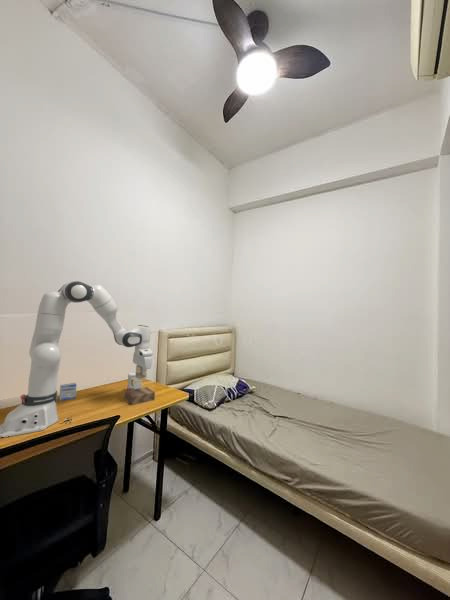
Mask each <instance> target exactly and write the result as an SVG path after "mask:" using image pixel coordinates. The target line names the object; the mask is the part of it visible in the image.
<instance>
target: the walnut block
mask: <svg viewBox="0 0 450 600" xmlns="http://www.w3.org/2000/svg"><path fill="white" fill-rule="evenodd" d="M155 395H156V392H155V391H154V390H152V389H150V388H149V387H148V386H144V387H142V388H139V389H134V390H129V391H127V390H125V391H124V400H125V401H127V402H128V403H129V404H130V405H131V406H135V405H139V404H143V403H147V402H151V401H155V399H156V398H155Z"/></svg>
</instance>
